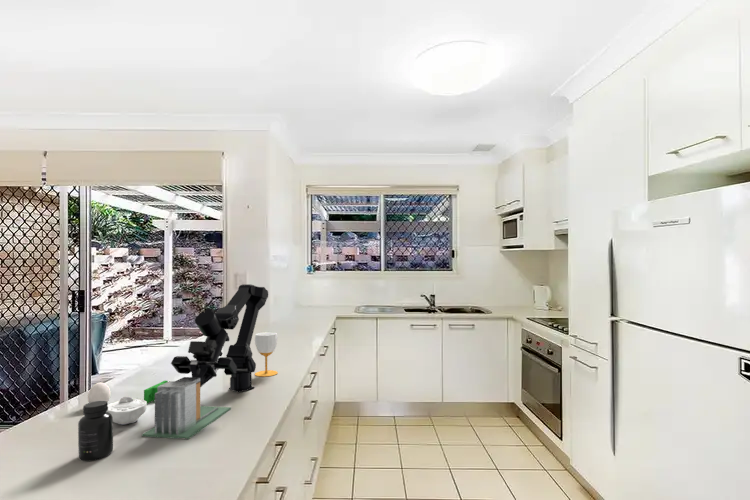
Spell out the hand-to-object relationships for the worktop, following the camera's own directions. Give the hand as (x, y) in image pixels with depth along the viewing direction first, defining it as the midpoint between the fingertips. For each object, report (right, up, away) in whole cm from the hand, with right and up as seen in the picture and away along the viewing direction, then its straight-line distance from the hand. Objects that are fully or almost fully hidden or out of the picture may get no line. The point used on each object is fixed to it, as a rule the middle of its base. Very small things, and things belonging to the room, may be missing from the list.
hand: (192, 391), depth 121 cm
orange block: (0, -7, -1) cm, 7 cm away
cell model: (-18, -9, -1) cm, 20 cm away
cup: (+8, -10, +49) cm, 51 cm away
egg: (-35, -9, +12) cm, 38 cm away
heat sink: (0, -8, -1) cm, 8 cm away
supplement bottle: (-13, -8, -22) cm, 27 cm away
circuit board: (0, -8, -1) cm, 8 cm away
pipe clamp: (-20, -9, +20) cm, 30 cm away
